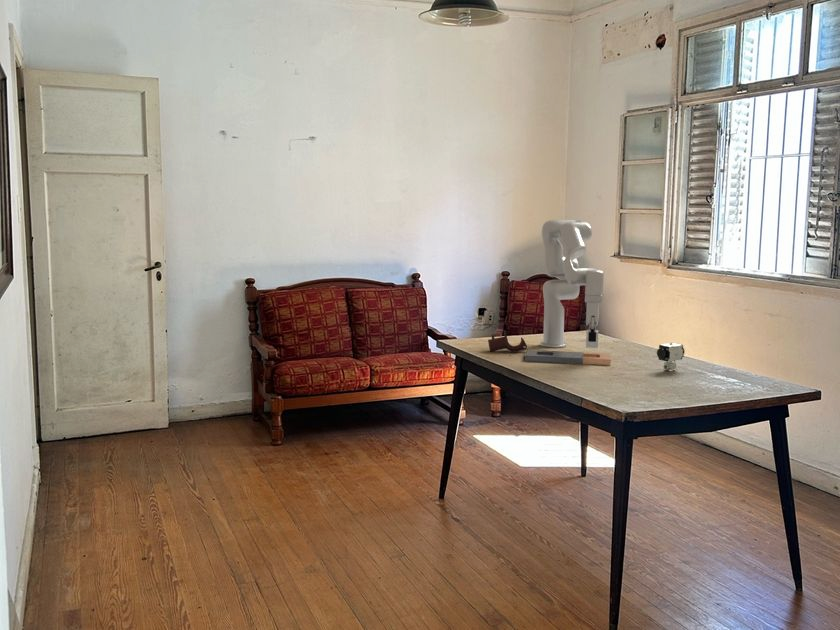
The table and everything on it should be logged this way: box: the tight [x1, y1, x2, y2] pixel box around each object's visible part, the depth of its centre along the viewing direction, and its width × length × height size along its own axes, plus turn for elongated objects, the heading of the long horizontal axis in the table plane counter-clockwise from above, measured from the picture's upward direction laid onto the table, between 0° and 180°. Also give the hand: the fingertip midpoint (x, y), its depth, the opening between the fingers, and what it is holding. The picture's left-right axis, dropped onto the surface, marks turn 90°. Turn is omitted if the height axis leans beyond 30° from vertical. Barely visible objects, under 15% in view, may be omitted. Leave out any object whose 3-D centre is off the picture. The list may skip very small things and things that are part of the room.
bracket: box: [487, 329, 528, 353], centre depth 371 cm, size 6×17×10 cm, turn 87°
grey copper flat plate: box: [524, 349, 612, 366], centre depth 352 cm, size 14×36×2 cm, turn 78°
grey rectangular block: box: [585, 329, 599, 349], centre depth 349 cm, size 5×5×7 cm
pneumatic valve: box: [656, 341, 685, 371], centre depth 331 cm, size 6×12×12 cm, turn 122°
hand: (592, 340), depth 349 cm, fingers closed on grey rectangular block, 5 cm apart
